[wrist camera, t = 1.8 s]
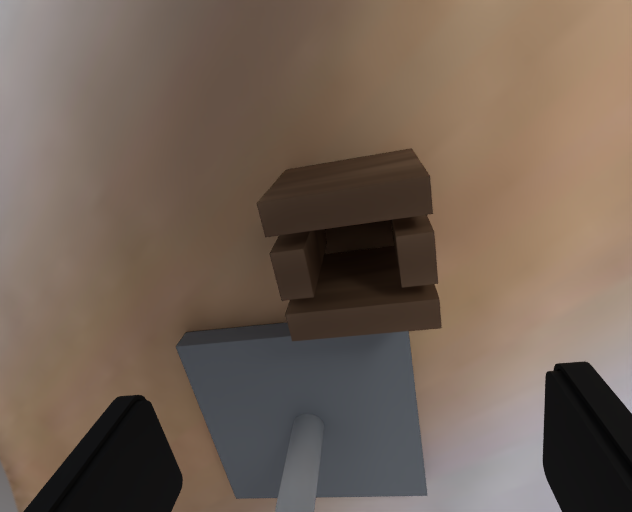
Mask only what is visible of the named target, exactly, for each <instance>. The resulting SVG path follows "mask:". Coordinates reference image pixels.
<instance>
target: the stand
mask: <svg viewBox="0 0 632 512" xmlns="http://www.w3.org/2000/svg"><path fill="white" fill-rule="evenodd" d="M176 349H177V351H178V354H179V356H180V359H181V361H182V364H183V366H184V369H185V371H186V374H187V376H188V379H189V381H190V384H191V386H192V389H193V391H194V394H195V396H196V399H197V401H198V404H199V406H200V409H201V411H202V414H203V416H204V419H205V421H206V424H207V427H208V429H209V432H210V434H211V437H212V439H213V442H214V444H215V447H216V449H217V452H218V454H219V457H220V459H221V462H222V464H223V467H224V469H225V472H226V474H227V477H228V479H229V482H230V484H231V487H232V489H233V492H234V494H235V497H236V499H239V498H278V500H277V505H276V509H275V512H314V507H315V499H316V497H372V496H427V487H426V478H425V470H424V461H423V452H422V444H421V435H420V426H419V418H418V409H417V400H416V392H415V383H414V374H413V366H412V357H411V348H410V340H409V331H404V332H393V333H381V334H370V335H359V336H348V337H336V338H325V339H314V340H303V341H292V339H291V335H290V331H289V327H288V323H277V324H267V325H256V326H246V327H236V328H226V329H216V330H205V331H195V332H186V333H185V334H184V336H183V337H182V339H181V340H180V341H179V343H178V344H177V346H176Z"/></svg>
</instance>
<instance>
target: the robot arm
mask: <svg viewBox="0 0 632 512" xmlns="http://www.w3.org/2000/svg"><path fill="white" fill-rule="evenodd" d="M543 467H544V472H545V475H546V478H547V481H548V483H549V485H550V487H551V489H552V491H553V494H554V496H555V498H556V500H557V502H558V504H559V506H560V508H561V510H562V512H632V414H631V412H630V411H629V410H628V409H627V408H626V406H625V405H624V404H623V403H622V402H621V400H620V399H619V398H618V397H617V396H616V394H615V393H614V392H613V391H612V390H611V388H610V387H609V386H608V385H607V384H606V382H605V381H604V380H603V379H602V378H601V376H600V375H599V374H598V373H597V372H596V370H595V369H594V368H593V367H592V366H591V365H590V364H589V363H588V362H573V363H559V364H556V365H555V366H554V371H548V372H547V373H546V381H545V411H544V440H543ZM182 481H183V479H182V474H181V471H180V469H179V467H178V464H177V462H176V460H175V457H174V455H173V453H172V450H171V448H170V446H169V443H168V441H167V439H166V436H165V434H164V432H163V429H162V427H161V425H160V422H159V420H158V418H157V415H156V413H155V411H154V408H153V406H152V404H151V402H150V401H147V400H146V399H145V397H144V396H142V395H132V396H120V397H117V398H116V399H115V400H114V401H113V402H112V403H111V404H110V405H109V407H108V408H107V409H106V410H105V412H104V413H103V414H102V415H101V417H100V418H99V419H98V420H97V422H96V423H95V424H94V425H93V426H92V428H91V429H90V430H89V431H88V433H87V434H86V435H85V436H84V438H83V439H82V440H81V441H80V443H79V444H78V445H77V446H76V447H75V449H74V450H73V451H72V452H71V454H70V455H69V456H68V457H67V459H66V460H65V461H64V462H63V464H62V465H61V466H60V467H59V468H58V470H57V471H56V472H55V473H54V475H53V476H52V477H51V478H50V480H49V481H48V482H47V483H46V485H45V486H44V487H43V488H42V489H41V491H40V492H39V493H38V494H37V496H36V497H35V498H34V499H33V501H32V502H31V503H30V504H29V506H28V507H27V508H26V509H25V510H24V512H171V511H172V509H173V507H174V504H175V502H176V500H177V498H178V496H179V493H180V491H181V488H182Z"/></svg>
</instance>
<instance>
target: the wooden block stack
mask: <svg viewBox="0 0 632 512" xmlns="http://www.w3.org/2000/svg"><path fill="white" fill-rule="evenodd" d="M257 206H258V210H259V214H260V218H261V222H262V226H263V230H264V234H265V237H271V236H278V235H279V237H278V239H277V241H276V243H275V244H274V246H273V248H272V250H271V252H270V257H271V261H272V265H273V269H274V273H275V277H276V280H277V284H278V288H279V292H280V296H281V300H282V301H283V300H290V302H289V305H288V308H287V311H286V314H285V316H286V319H287V323H288V327H289V331H290V335H291V339H292V341H303V340H314V339H325V338H336V337H348V336H359V335H370V334H381V333H393V332H404V331H415V330H426V329H438V328H441V315H440V302H439V297H438V294H437V291H436V288H435V285H434V284H438V276H437V262H436V249H435V236H434V230H433V228H432V226H431V224H430V221H429V219H428V217H427V215H428V214H433V210H432V197H431V184H430V175H429V174H428V172H427V171H426V169H425V168H424V166H423V165H422V163H421V162H420V160H419V159H418V157H417V156H416V154H415V153H414V151H413V150H412V148H411V149H406V150H400V151H394V152H388V153H382V154H376V155H370V156H365V157H359V158H353V159H347V160H341V161H335V162H329V163H323V164H318V165H312V166H306V167H300V168H294V169H288V170H285V171H284V173H283V174H282V175H281V176H280V177H279V178H278V179H277V181H276V182H275V183H274V184H273V185H272V186H271V187H270V189H269V190H268V191H267V192H266V193H265V194H264V196H263V197H262V198H261V199H260V200H259V201H258V202H257ZM385 220H391V225H392V233H393V239H394V245H395V246H387V247H379V248H372V249H364V250H356V251H348V252H340V253H332V254H325V255H324V253H325V248H326V244H327V241H326V235H325V230H324V229H328V228H335V227H343V226H350V225H357V224H364V223H371V222H378V221H385Z"/></svg>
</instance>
